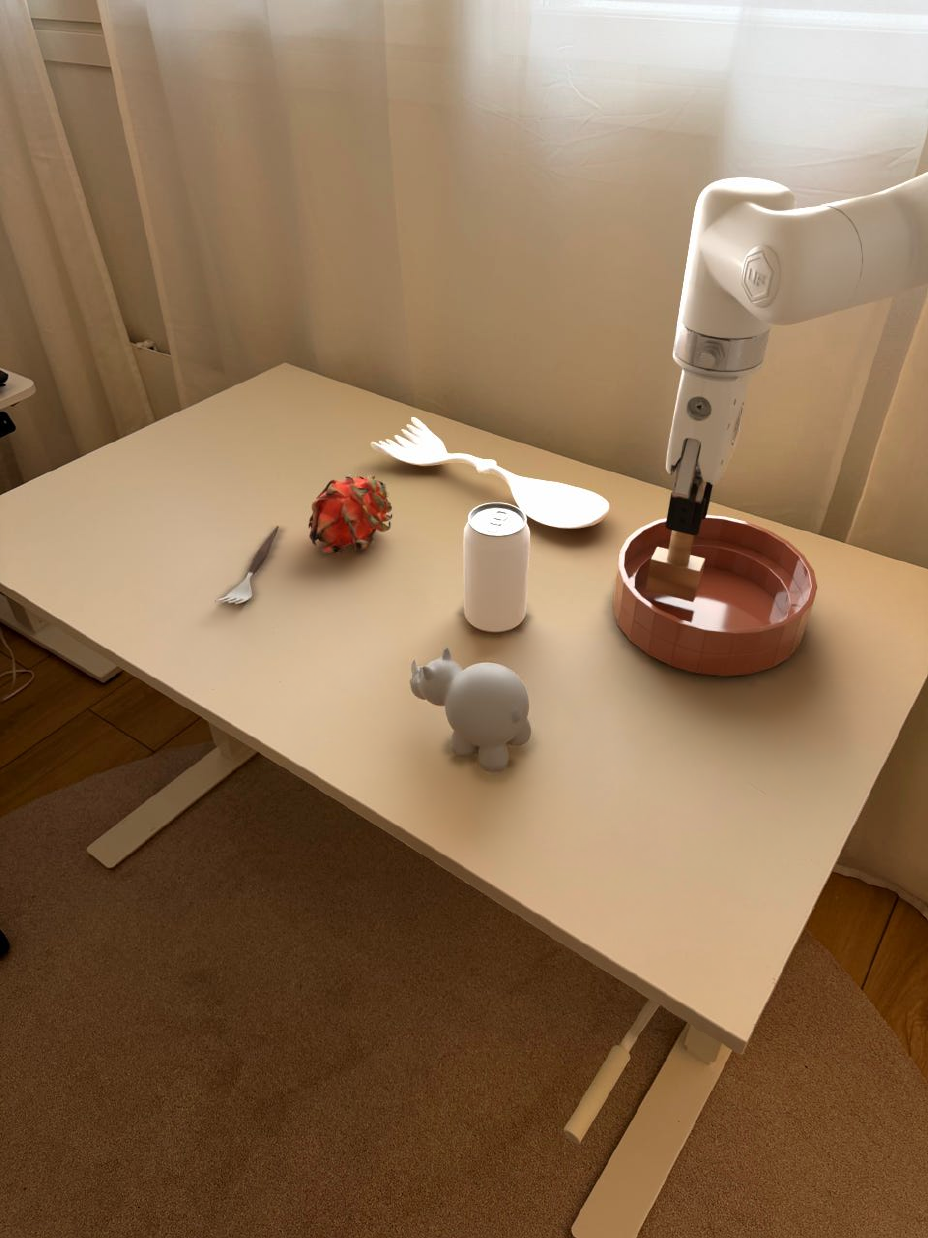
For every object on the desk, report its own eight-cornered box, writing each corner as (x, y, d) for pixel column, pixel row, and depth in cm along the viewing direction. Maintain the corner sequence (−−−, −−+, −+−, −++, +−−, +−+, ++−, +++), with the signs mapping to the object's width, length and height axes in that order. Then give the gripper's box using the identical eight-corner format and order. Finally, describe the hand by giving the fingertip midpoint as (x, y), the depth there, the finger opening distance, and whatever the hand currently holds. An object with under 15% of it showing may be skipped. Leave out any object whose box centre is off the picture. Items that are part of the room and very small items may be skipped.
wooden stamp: (698, 589, 93) (723, 472, 84) (693, 602, 91) (718, 485, 82) (652, 576, 94) (671, 461, 85) (645, 589, 93) (664, 473, 84)
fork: (289, 530, 105) (287, 516, 103) (240, 618, 93) (236, 603, 91) (268, 528, 105) (265, 514, 104) (216, 615, 93) (212, 600, 92)
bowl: (814, 585, 96) (829, 540, 92) (784, 703, 83) (799, 656, 79) (641, 542, 102) (648, 498, 98) (587, 645, 89) (593, 599, 85)
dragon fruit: (396, 528, 108) (328, 588, 102) (347, 476, 107) (275, 533, 101) (421, 498, 100) (348, 561, 94) (368, 442, 100) (292, 502, 94)
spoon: (413, 435, 121) (412, 412, 119) (620, 515, 107) (624, 490, 104) (369, 463, 116) (367, 439, 114) (581, 551, 101) (584, 525, 99)
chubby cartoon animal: (440, 679, 86) (438, 612, 80) (543, 738, 80) (548, 669, 74) (389, 723, 81) (383, 655, 76) (494, 788, 76) (496, 719, 70)
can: (454, 625, 92) (452, 529, 84) (477, 588, 96) (477, 494, 88) (513, 641, 90) (517, 544, 82) (534, 603, 94) (540, 507, 86)
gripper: (745, 390, 69) (704, 578, 81) (782, 315, 80) (741, 491, 92) (650, 372, 71) (624, 558, 83) (698, 302, 82) (669, 475, 94)
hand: (686, 521), depth 87 cm, fingers closed on wooden stamp, 2 cm apart
